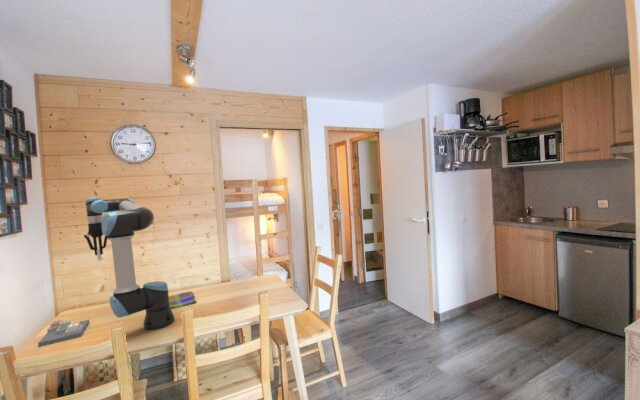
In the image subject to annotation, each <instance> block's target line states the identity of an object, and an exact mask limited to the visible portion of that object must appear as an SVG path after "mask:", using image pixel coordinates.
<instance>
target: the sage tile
mask: <svg viewBox="0 0 640 400" xmlns="http://www.w3.org/2000/svg"><path fill="white" fill-rule="evenodd" d="M71 323H72V321H71V319H66V320H62V321H61V322H60V323H59V330H60V329H64V328H68V326H69V325H70V324H71Z"/></svg>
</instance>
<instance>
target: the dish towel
mask: <svg viewBox="0 0 640 400" xmlns="http://www.w3.org/2000/svg"><path fill="white" fill-rule="evenodd" d="M196 302H197V300H196V298H195V294H194V292H192V291H186V292H181V293H177V294H172V295H169V305H170V309H171V310H175V309H180V308H183V307H188V306H191V305H196Z"/></svg>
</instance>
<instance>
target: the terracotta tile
mask: <svg viewBox="0 0 640 400" xmlns="http://www.w3.org/2000/svg"><path fill="white" fill-rule="evenodd" d="M61 321H63V319H59V320H53V321H52V322H51V323H50V326H51V328H54V327H58V326H59V323H60V322H61Z"/></svg>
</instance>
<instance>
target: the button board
mask: <svg viewBox="0 0 640 400" xmlns="http://www.w3.org/2000/svg"><path fill="white" fill-rule="evenodd" d="M74 323H79V324H80V327H79V329H76V330H71V331H68V328H64V329H60V330H59V326H58V327H54V328H51V325H50V326H49V327H48V328H47V332H46V334H44V336H42V338H41V339H40V341H38V343H37V344H38V347H39V348H40V347H44V346H49V345H52V344H56V343H60V342H64V341H69V340H73V339H76V338H81V337H82V336H83V335H84V333H85V331H86V330H87V328H88V326H89V325H90V319H85V320H81V321H77V322H71V324H74Z"/></svg>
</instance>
